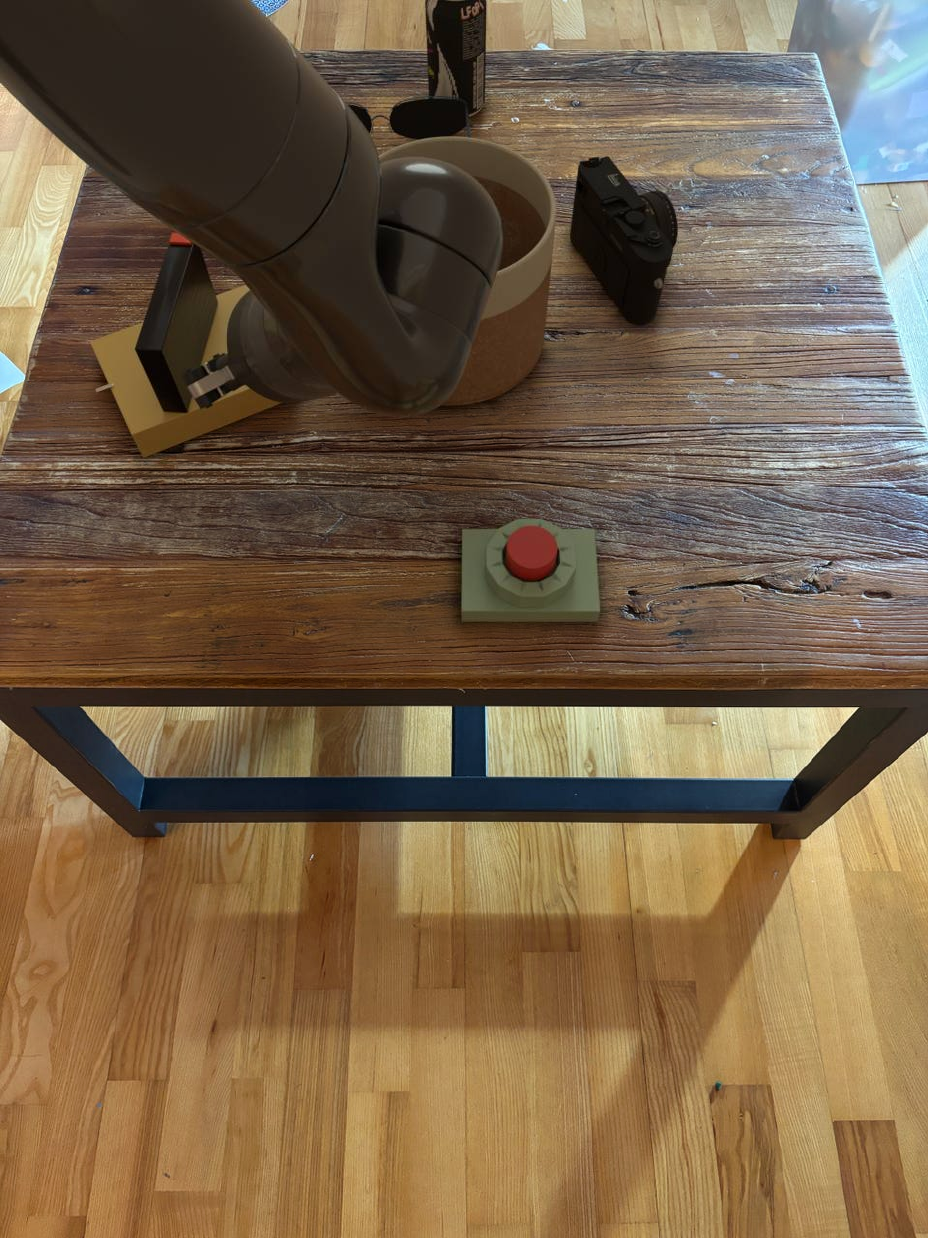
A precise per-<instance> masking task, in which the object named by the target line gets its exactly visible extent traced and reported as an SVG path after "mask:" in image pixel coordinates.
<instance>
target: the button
mask: <svg viewBox="0 0 928 1238" xmlns="http://www.w3.org/2000/svg"><path fill="white" fill-rule="evenodd" d="M557 550H558V547H557V542H556V540H555V538H554V536H553V535H552V534H551V533H550V532H549V531H548V530H546V529H544V528H542V527H539V526H524V527H521V528H519V529H517V530H516V531H514V532H513V533H512V534H511V535H510V537H509V539H508V541H507V549H506V563H507V566H508V568H509V570H510V571H511V572H512V573H513V574H514V575H515V576H517V577H519V578H521V579H524V580H530V581H533V580H539V579H542V578H544V577H546V576H547V575H549V574H550V573H551V571H552V570H553V568H554V566H555V562H556V556H557Z"/></svg>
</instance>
